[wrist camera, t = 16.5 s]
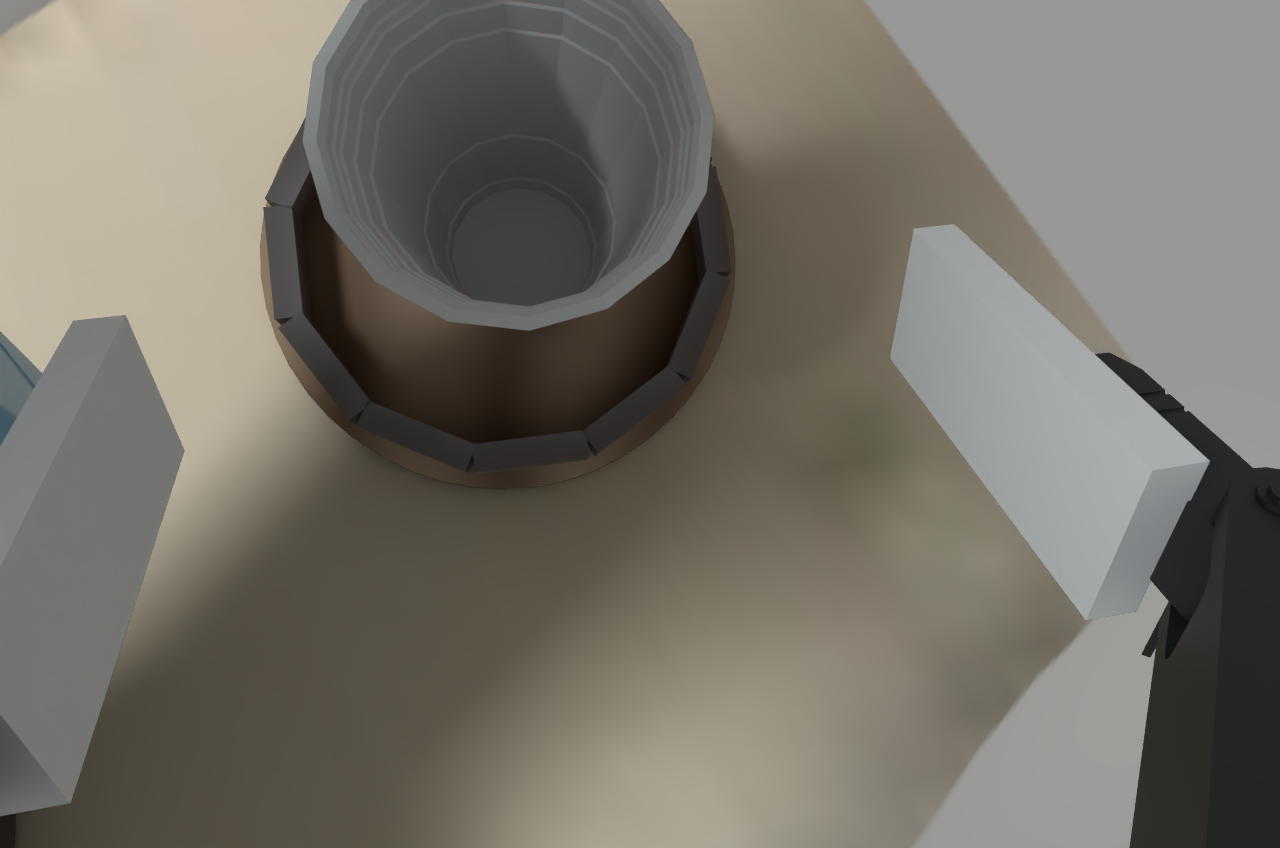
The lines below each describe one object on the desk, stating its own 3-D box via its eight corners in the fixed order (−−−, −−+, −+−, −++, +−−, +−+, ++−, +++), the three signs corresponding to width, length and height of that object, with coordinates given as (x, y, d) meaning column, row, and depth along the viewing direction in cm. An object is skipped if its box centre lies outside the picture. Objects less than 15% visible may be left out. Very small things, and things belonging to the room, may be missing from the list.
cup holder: (293, 519, 34) (273, 518, 31) (248, 64, 36) (225, 26, 33) (760, 456, 36) (778, 450, 34) (693, 33, 38) (705, -4, 36)
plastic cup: (316, 271, 34) (201, 131, 22) (502, 75, 36) (488, -151, 24) (534, 454, 34) (536, 411, 22) (709, 249, 36) (796, 110, 24)
